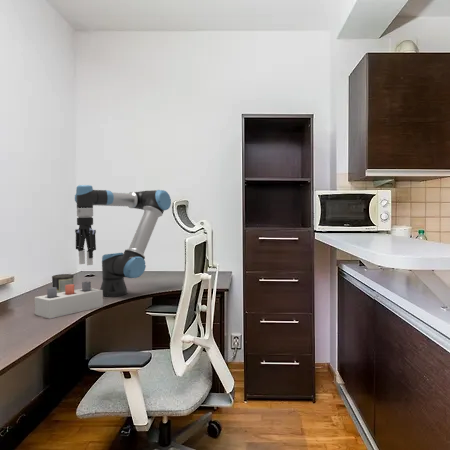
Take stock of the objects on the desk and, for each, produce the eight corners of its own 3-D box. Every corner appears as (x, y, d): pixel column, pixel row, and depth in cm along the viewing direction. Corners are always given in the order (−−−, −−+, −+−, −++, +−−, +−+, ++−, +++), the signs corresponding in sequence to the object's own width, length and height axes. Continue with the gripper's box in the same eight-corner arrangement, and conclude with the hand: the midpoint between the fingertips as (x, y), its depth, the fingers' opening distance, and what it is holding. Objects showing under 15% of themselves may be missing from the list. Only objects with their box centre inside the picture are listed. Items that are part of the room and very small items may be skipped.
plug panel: (88, 303, 209) (87, 287, 209) (102, 306, 202) (102, 290, 202) (35, 314, 187) (34, 297, 187) (49, 318, 180) (48, 300, 180)
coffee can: (48, 305, 205) (48, 277, 205) (57, 300, 216) (57, 274, 215) (69, 305, 205) (68, 277, 205) (77, 300, 215) (76, 273, 215)
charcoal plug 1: (53, 302, 190) (53, 286, 190) (58, 303, 188) (58, 287, 187) (45, 303, 187) (45, 288, 187) (50, 304, 184) (50, 289, 184)
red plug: (71, 298, 197) (71, 284, 197) (76, 299, 195) (76, 284, 195) (63, 300, 194) (63, 285, 194) (68, 301, 192) (68, 286, 191)
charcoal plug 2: (87, 295, 204) (87, 281, 204) (92, 296, 202) (92, 282, 202) (80, 296, 201) (80, 282, 201) (85, 297, 199) (85, 283, 199)
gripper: (67, 217, 203) (68, 263, 204) (89, 217, 192) (90, 266, 193) (80, 216, 209) (81, 262, 210) (103, 216, 198) (104, 265, 199)
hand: (85, 264), depth 201 cm, fingers open, 6 cm apart
